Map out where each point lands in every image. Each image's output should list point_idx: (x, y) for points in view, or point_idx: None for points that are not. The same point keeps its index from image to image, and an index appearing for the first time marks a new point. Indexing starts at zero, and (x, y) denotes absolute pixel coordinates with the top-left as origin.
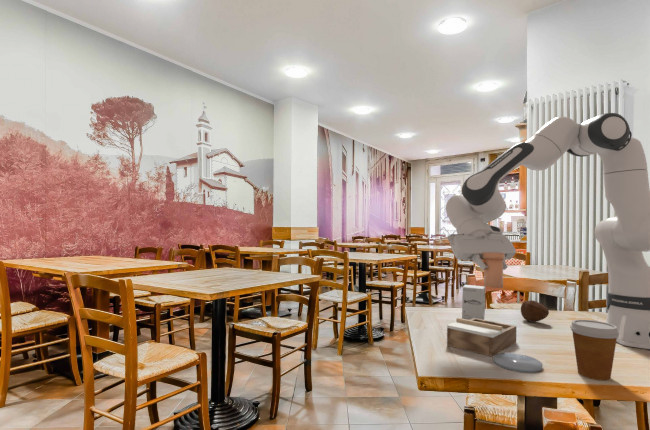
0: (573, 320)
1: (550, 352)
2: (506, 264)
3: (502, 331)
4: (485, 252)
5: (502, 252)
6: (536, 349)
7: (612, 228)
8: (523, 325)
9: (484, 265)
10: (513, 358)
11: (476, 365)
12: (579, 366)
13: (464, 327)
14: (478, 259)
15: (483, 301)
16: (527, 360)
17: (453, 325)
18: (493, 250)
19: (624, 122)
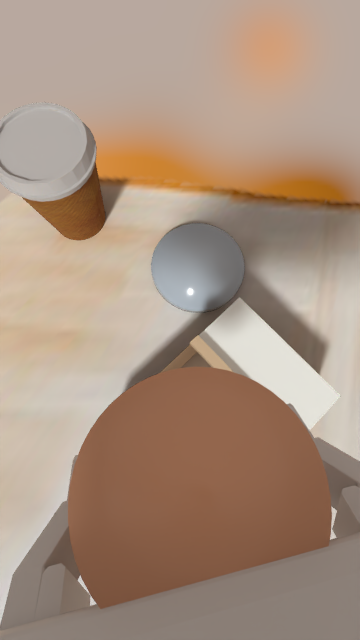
0: (64, 174)
1: (71, 345)
2: (73, 468)
3: (180, 361)
4: (292, 540)
5: (10, 633)
6: (91, 367)
7: None
8: None
9: (290, 407)
10: (201, 274)
11: (286, 261)
12: (103, 210)
13: (294, 369)
14: (354, 459)
15: None
16: (176, 264)
17: (322, 390)
18: (149, 636)
19: None
